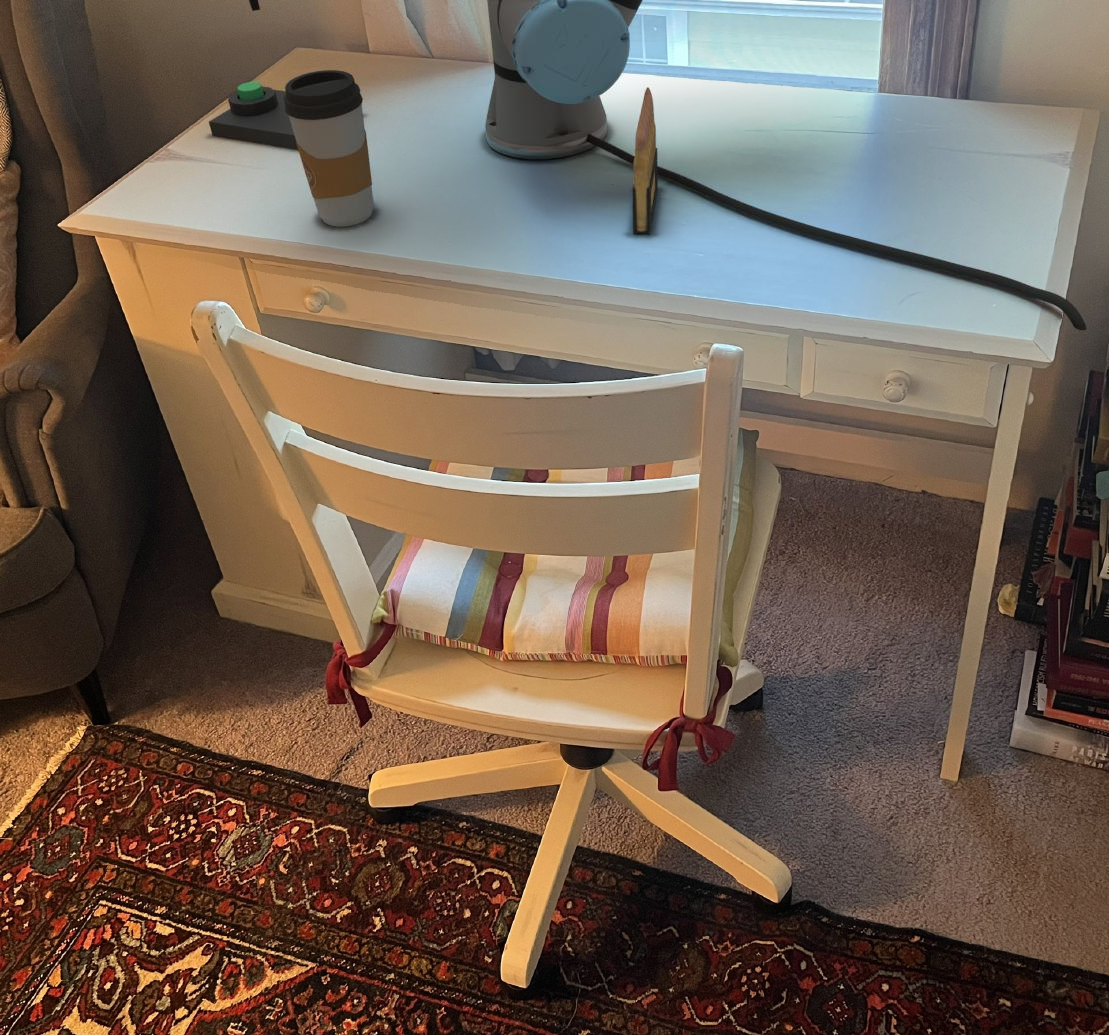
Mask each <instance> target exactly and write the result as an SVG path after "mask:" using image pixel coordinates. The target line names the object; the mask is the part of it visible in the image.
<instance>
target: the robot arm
mask: <svg viewBox="0 0 1109 1035" xmlns="http://www.w3.org/2000/svg"><path fill="white" fill-rule="evenodd" d="M486 1H487V12H488V13H487V14H488V22H489V32H490V42H491V51H492V62H493V72H494V79H493V84H492V89H491V94H490V99H489V104H488V109H487V114H486V119H485V126H484V127H485V135H486V141H487V144H488V145H489V146H490V148H491V149H493V150H494V151H495V152H498V153H500V154H502V155H505V156H508V157H512V158H516V159H517V158H518V159H524V160H549V159H559V158H565V157H570V156H573V155H574V156H575V155H577V154H579V153H583V152H585V151H588V150H590V149H592V148H594V147H597V148H599V149H601V150H603V151H605V152H607V153H609V154H612V155H613V156H615V157H617V158H619V159H621V160H623V161H625V162H627V163H629V164H631V165H633V166H634V158H635V155H634V154H631V153H629V152H627V151H625V150H624V149H621V148H619V147H617V146H615V145H614V144H611V143H610V142H608V141H605V140H604V139H605V137H606V136H607V133H608V122H607V120H608V119H607V113H606V110H605V107H604V105H603V101H602V99H601V96H602V95H603V94H604V93H606V92H607V91H608V90H609V89H611V88H612V87H613V86H614V85H615V84H616V82H617V81H618V80H619V78H620V77H621V76H622V74H623V72H624V70H625V68H626V66H627V63H628V60H629V56H630V50H631V39H630V37H631V35H630V31H629V27H630V26H631V24H632V21H633V20H634V18H635V16H636V14H637V12H638V10H639V8H640V6H641V4H642V2H643V1H644V0H486ZM248 3H249V5H250V9H251V11H252V12H255V11H256V12H257V11H261V8H260V7H261V6H260V3H259V0H248ZM657 172H658V176H659V177H661V178H664V179H667V180H669V181H672V182H674V183H676V184H678V185H681V186H683V187H686V188H688V189H690V190H692V191H694V192H697V193H699V194H701V195H703V196H706V197H707V198H709V199H712V200H714V201H715V202H718V203H720V204H722V205H725V206H726V207H729V208H731V209H734V210H737V211H739V212H741V213H744V214H746V215H749V216H751V217H755V218H757V219H760V220H761V221H765V222H768V223H771V224H774V225H777V226H778V227H779V226H780V227H782V228H786V229H789V230H792V231H795V232H798V233H801V234H805V235H808V236H811V237H815V238H819V239H822V240H824V241H828V242H832V243H836V244H839V245H843V246H848V247H850V248H854V249H859V250H862V251H865V252H869V253H873V254H877V255H881V256H885V257H889V258H893V259H896V260H901V261H904V262H908V263H913V264H916V265H919V266H924V267H928V268H932V269H935V270H939V271H941V272H946V273H950V274H953V275H957V276H962V277H964V278H969V279H973V280H976V281H977V280H978V281H981V282H985V283H988V284H992V285H994V286H998V287H1002V288H1005V289H1007V290H1010V291H1013V292H1015V293H1018V294H1021V295H1023V296H1025V297H1028V298H1031V299H1034V300H1037V301H1042V302H1045V303H1048V304H1051V305H1053V306H1055V307H1057V308H1058V309H1059V310H1061V311H1062V312H1063V313H1064V314H1065V315H1066V317H1067V318H1068V320H1069V321H1070V323H1071V324H1072V326H1073V328H1074V329H1076V330H1079V331H1086V330H1087V325H1086V324H1087V323H1086V322H1085V320H1084V318H1083V316H1082V315H1081V313H1080V312H1079V310H1078V309H1077V308H1076V307H1075V306H1074V305H1073V303H1071V302H1070V301H1069V300H1068V299H1066V298H1065V297H1063V296H1062V295H1059V294H1057V293H1055V292H1051V291H1049V290H1045V289H1042V288H1038V287H1035V286H1032V285H1030V284H1027V283H1024V282H1022V281H1019V280H1016V279H1013V278H1010V277H1008V276H1004V275H1001V274H997V273H995V272H990V271H987V270H984V269H983V270H982V269H979V268H975V267H971V266H967V265H963V264H959V263H955V262H951V261H948V260H945V259H940V258H936V257H933V256H929V255H925V254H921V253H917V252H913V251H909V250H905V249H901V248H896V247H893V246H889V245H885V244H881V243H877V242H873V241H870V240H866V239H862V238H858V237H856V236H855V237H854V236H851V235H847V234H844V233H840V232H835V231H831V230H828V229H824V228H820V227H817V226H815V225H810V224H807V223H805V222H801V221H797V220H794V219H791V218H789V217H785V216H781V215H779V214H776V213H773V212H770V211H766V210H764V209H761V208H759V207H756V206H753V205H751V204H748V203H745V202H743V201H741V200H738V199H735V198H733V197H730V196H728V195H726V194H724V193H721V192H719V191H718V190H715V189H713V188H711V187H708V186H707V185H705V184H702V183H700V182H698V181H695V180H694V179H691V178H689V177H687V176H685V175H682V174H680V173H677V172H675V171H672V170H669V169H667V168H664V167H662V166H659V165H657Z"/></svg>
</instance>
